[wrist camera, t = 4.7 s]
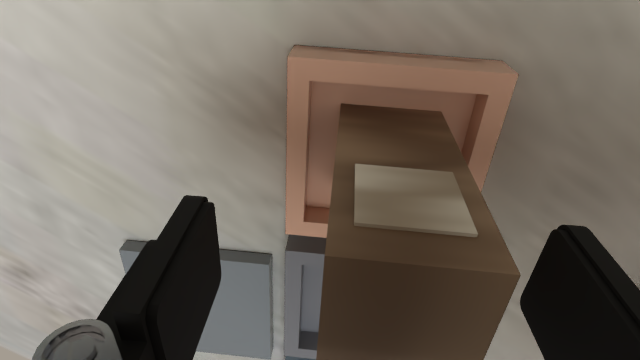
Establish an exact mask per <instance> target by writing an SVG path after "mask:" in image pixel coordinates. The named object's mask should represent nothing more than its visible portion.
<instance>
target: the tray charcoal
mask: <svg viewBox="0 0 640 360" xmlns="http://www.w3.org/2000/svg"><path fill="white" fill-rule="evenodd" d="M325 247H326V238H322V237H312V236H301V235H291V234H289V237H288V241H287V246H286V250H285V323H284V356H291V357H300V358H309V359H316V356H317V343H318V331H319V319H320V306H321V294H322V281H323V269H324V257H325Z"/></svg>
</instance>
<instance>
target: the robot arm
mask: <svg viewBox="0 0 640 360" xmlns="http://www.w3.org/2000/svg"><path fill="white" fill-rule="evenodd" d="M221 274H222V273H221V263H220V253H219V244H218V234H217V225H216V216H215V207H214V203H212V202H208V199H207V197H202V196H189V195H186V196H184V197H183V199H182V200H181V202H180V204H179V205H178V207H177V208H176V210H175V212H174V213H173V215H172V216H171V218H170V219H169V221H168V223H167V224H166V226H165V227H164V229H163V231H162V232H161V234H160V235H159V237H158V239H157V240H150V241H148V242H147V243H146V244H145V246H144V247H143V249H142V250H141V252H140V253H139V255H138V256H137V258H136V259H135V261H134V263H133V264H132V266H131V267H130V269H129V270H128V272H127V273H126V275H125V276H124V278H123V279H122V281H121V282H120V284H119V285H118V287H117V289H116V290H115V292H114V293H113V295H112V296H111V298H110V299H109V301H108V302H107V304H106V305H105V307H104V308H103V310H102V311H101V313H100V315H99V316H98V318H97V319H96V320H95V319H84V320H78V321H75V322H71V323H68V324H66V325H64V326H62V327H60V328H58V329H57V330H55V331H54V332H53V333H51V334H50V335H49V336H47V337H46V338H45V339H44V340H43V341H42V343H41V344H40V345H39V346H38V347H37V349H36V351H35V353H34V355H33V358H32V360H193V357H194V354H195V352H196V349H197V346H198V343H199V341H200V338H201V335H202V332H203V330H204V327H205V324H206V321H207V319H208V316H209V313H210V311H211V308H212V305H213V302H214V300H215V297H216V294H217V291H218V289H219V286H220V282H221ZM520 305H521V309H522V312H523V314H524V316H525V318H526V320H527V323H528V325H529V327H530V329H531V331H532V333H533V335H534V337H535V340H536V342H537V344H538V346H539V348H540V350H541V352H542V355H543V357H544V359H545V360H640V290H639V289H638V288H637V286H636V285H635V284H634V283H633V282H632V280H631V279H630V278H629V277H628V276H627V274H626V273H625V272H624V271H623V269H622V268H621V267H620V266H619V265H618V263H617V262H616V261H615V260H614V259H613V257H612V256H611V255H610V254H609V253H608V251H607V250H606V249H605V248H604V247H603V245H602V244H601V243H600V242H599V241H598V239H597V238H596V237H595V236H594V234H593V233H592V232H591V231H590V230H589V229H588V228H587V227H584V226H574V225H561V226H559V227H558V229H555V230H553V231H552V232H551V233H550V235H549V238H548V240H547V242H546V244H545V246H544V248H543V250H542V253H541V255H540V257H539V259H538V261H537V263H536V266H535V268H534V270H533V272H532V274H531V276H530V278H529V281H528V283H527V285H526V287H525V289H524V291H523V293H522V296H521V299H520Z"/></svg>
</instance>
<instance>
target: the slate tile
mask: <svg viewBox="0 0 640 360" xmlns="http://www.w3.org/2000/svg"><path fill="white" fill-rule="evenodd" d="M146 243H147V242H139V241H129V240H126V242H125V243H124V244H123V246H122V247H121V248H120V249H119V252H120V255H121V259H122V262H123V266H124V270H125V273H127V272H128V270H129V269H130V267H131V266H132V264H133V263H134V261H135V259H136V258H137V256H138V255H139V253H140V252H141V250H142V249H143V247H144V246H145V244H146ZM219 253H220V263H221V273H222V274H221V282H220V286H219V289H218V291H217V294H216V297H215V300H214V302H213V305H212V308H211V311H210V313H209V316H208V319H207V321H206V324H205V327H204V330H203V332H202V335H201V338H200V341H199V343H198V346H197V349H196V351H198V352H207V353H216V354H225V355H234V356H243V357H252V358H261V359H271V355H272V350H273V310H272V255H271V254H261V253H251V252H241V251H231V250H221V249H219Z"/></svg>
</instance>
